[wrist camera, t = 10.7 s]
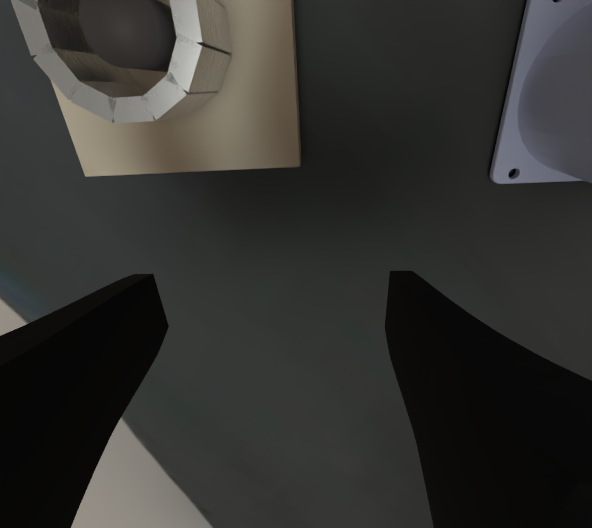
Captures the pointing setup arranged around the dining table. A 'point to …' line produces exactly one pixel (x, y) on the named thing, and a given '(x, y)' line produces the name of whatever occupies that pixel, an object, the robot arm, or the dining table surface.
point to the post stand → (210, 117)
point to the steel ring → (118, 81)
